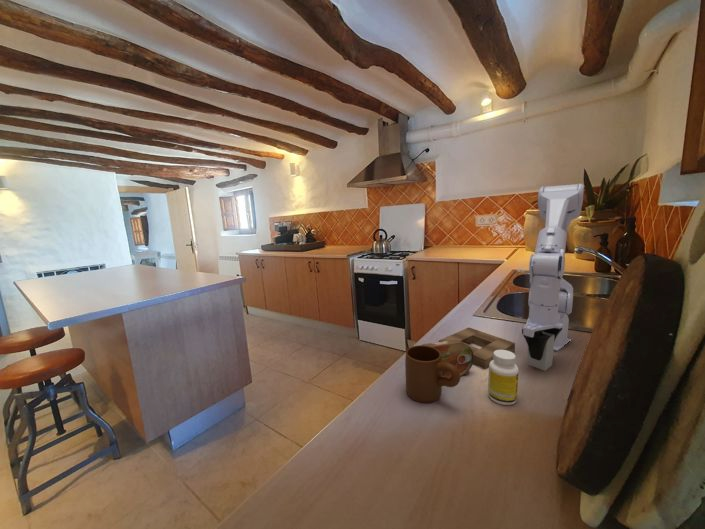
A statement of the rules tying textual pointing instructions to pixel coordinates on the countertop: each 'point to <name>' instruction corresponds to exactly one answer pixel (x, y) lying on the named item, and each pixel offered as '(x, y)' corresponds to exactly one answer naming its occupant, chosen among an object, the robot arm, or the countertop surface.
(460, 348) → the tin
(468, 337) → the collar
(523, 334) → the robot arm
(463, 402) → the countertop surface
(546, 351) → the peg
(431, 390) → the mug
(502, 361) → the supplement bottle
